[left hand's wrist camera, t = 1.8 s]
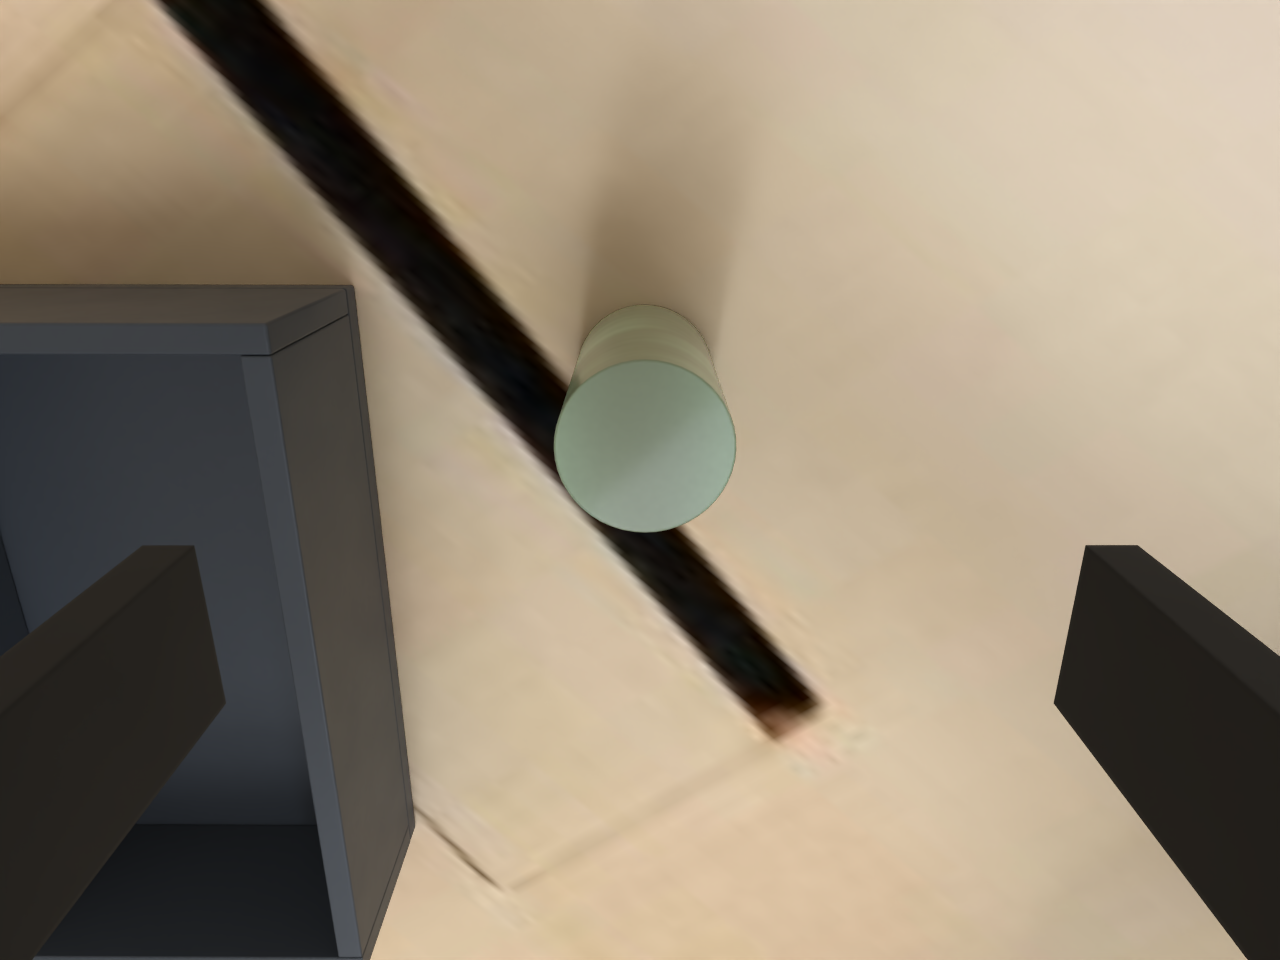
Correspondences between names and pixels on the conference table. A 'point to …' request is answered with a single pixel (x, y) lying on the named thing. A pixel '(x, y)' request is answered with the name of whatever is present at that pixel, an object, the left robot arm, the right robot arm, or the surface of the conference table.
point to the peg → (644, 423)
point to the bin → (221, 599)
